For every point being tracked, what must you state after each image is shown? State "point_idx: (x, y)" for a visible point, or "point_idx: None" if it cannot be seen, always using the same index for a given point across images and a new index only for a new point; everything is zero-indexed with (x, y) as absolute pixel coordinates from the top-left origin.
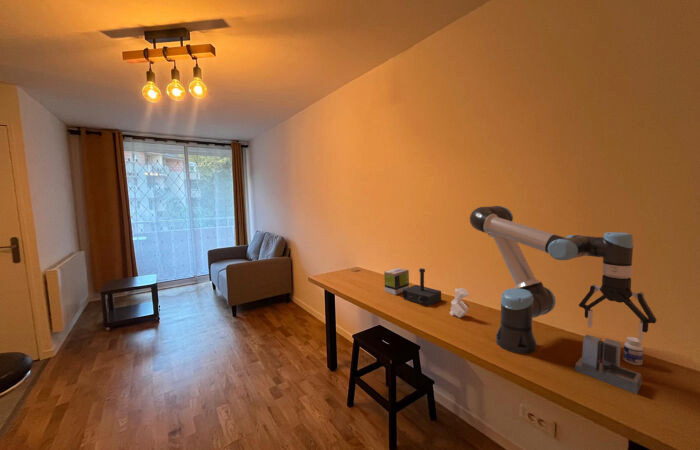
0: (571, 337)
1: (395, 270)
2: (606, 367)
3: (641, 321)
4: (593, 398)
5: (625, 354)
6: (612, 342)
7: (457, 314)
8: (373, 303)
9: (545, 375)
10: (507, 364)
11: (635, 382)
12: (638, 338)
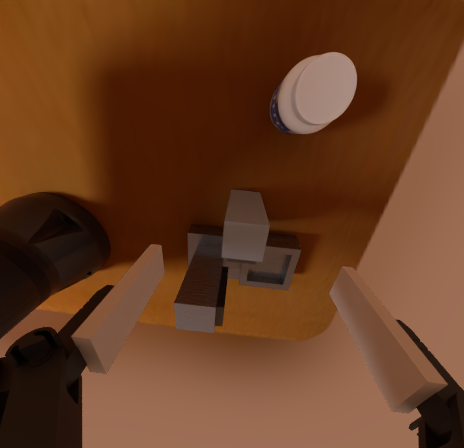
0: (102, 31)
1: None
2: None
3: (419, 394)
4: (232, 316)
5: (277, 124)
6: (245, 244)
7: None
8: None
9: (166, 303)
10: None
11: (286, 289)
12: (334, 302)
